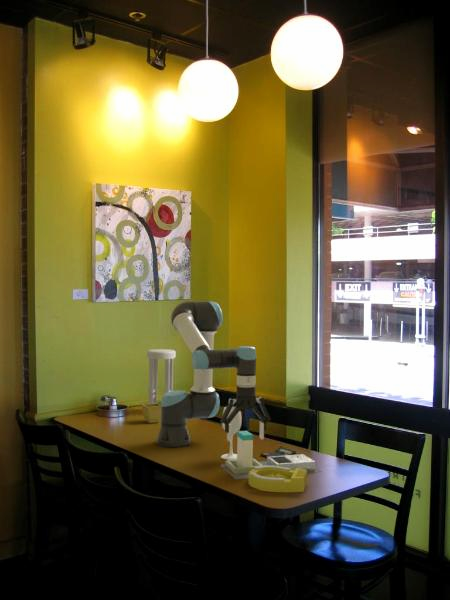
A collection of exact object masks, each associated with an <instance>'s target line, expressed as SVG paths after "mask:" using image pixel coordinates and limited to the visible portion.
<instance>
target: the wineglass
mask: <svg viewBox="0 0 450 600" xmlns="http://www.w3.org/2000/svg"><path fill="white" fill-rule="evenodd" d="M226 407H227V406H224V408H223V411H222V414H223V413H224V411H225V409H226ZM235 407H236V406H232V408H231V411H230V413H229V415H230V414H231V413H232V411H233V410H234V409H235ZM229 415H228V416H229ZM227 418H228V417H227ZM230 424H231V442H229V453H225V454H222V455H221V456H220V458H221V459H224V460H237V453H234V452H233V438H234V435H235V434H237V432H238V431H240V429H241V427H242V412H241V410H240V411H239V412H238V413H237V415H236V416H235V417H234V418H233V420H232V421H231V422H230ZM221 425H222V429H223V430H224V431H225V424H224V423H222V422H221Z"/></svg>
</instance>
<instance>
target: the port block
mask: <svg viewBox="0 0 450 600" xmlns="http://www.w3.org/2000/svg"><path fill="white" fill-rule="evenodd" d="M266 461H267V465H270V466H280V467H286V468H290V469H291V470H294V471H295V469H296V468H300V469H303V470H306V471H315V467H316V461H315V460H313V459H312V458H310V457H309V456H307V455H305V454H304V453H303V454H302V453H301V454H295V455H285V456H271V457H267V458H266Z"/></svg>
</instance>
